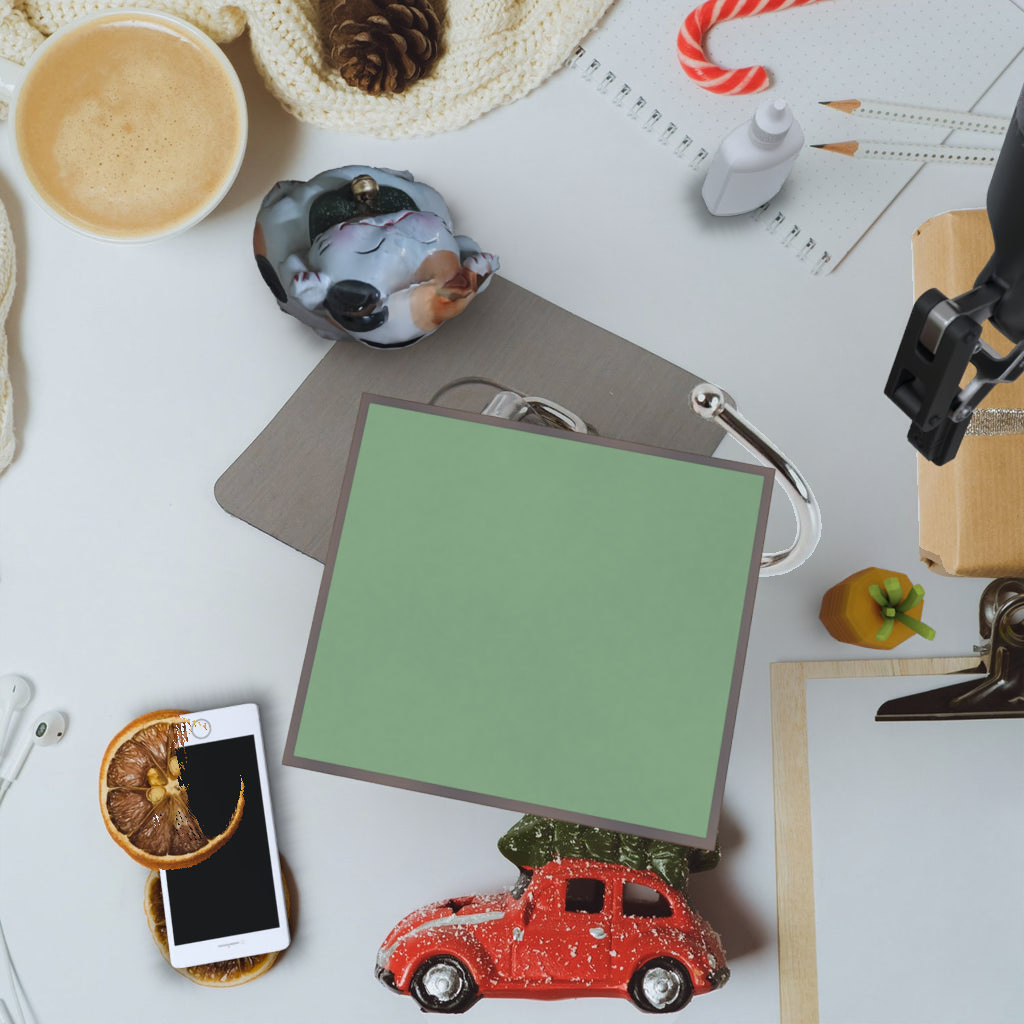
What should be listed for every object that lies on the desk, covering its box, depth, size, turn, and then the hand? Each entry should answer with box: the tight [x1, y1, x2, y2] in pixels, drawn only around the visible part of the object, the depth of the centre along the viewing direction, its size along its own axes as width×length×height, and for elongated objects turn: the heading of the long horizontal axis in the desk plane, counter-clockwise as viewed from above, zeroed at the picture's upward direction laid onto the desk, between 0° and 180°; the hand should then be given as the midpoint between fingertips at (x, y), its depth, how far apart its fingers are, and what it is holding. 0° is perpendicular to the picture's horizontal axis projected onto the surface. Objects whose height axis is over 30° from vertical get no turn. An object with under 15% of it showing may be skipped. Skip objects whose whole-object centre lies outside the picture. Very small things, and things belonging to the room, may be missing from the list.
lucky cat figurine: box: [252, 164, 501, 351], centre depth 69 cm, size 15×12×14 cm
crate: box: [281, 391, 777, 852], centre depth 57 cm, size 18×16×28 cm
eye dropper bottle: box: [701, 98, 805, 217], centre depth 69 cm, size 4×6×12 cm
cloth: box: [294, 403, 764, 838], centre depth 43 cm, size 17×15×1 cm
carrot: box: [818, 566, 937, 651], centre depth 64 cm, size 5×5×15 cm
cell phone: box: [152, 702, 292, 969], centre depth 69 cm, size 8×16×1 cm, turn 10°
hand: (1002, 410), depth 49 cm, fingers open, 8 cm apart
